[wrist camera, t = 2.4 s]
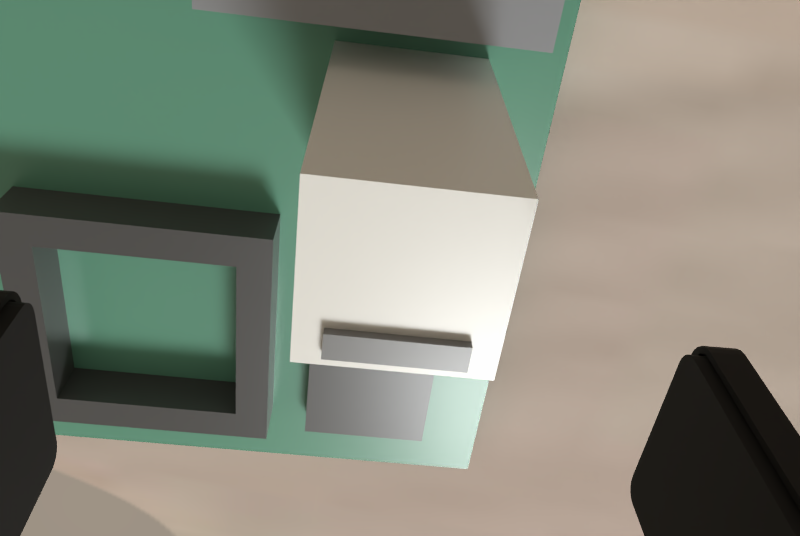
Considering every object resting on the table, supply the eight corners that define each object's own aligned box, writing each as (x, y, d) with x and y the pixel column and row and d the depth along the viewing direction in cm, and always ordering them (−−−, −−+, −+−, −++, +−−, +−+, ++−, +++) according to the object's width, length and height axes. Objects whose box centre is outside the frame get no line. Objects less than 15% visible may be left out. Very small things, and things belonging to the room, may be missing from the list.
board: (655, -370, 16) (726, -417, 12) (465, 445, 28) (474, 532, 25) (-137, -499, 15) (-298, -589, 11) (34, 408, 27) (-17, 494, 24)
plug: (488, 59, 19) (540, 205, 12) (463, 196, 21) (494, 387, 14) (334, 40, 19) (298, 179, 12) (324, 181, 21) (288, 368, 14)
